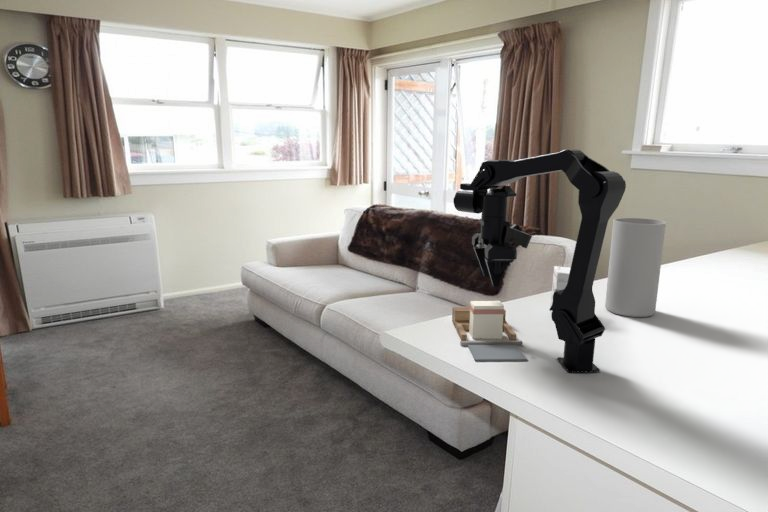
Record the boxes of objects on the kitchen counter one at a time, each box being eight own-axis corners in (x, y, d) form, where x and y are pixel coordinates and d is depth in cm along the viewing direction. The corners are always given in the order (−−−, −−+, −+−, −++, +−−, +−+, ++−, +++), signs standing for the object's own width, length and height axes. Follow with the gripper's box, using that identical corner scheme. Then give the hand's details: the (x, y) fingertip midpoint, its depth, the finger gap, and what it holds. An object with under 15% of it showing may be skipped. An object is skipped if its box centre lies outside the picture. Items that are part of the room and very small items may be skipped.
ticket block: (502, 338, 120) (504, 306, 118) (472, 338, 119) (473, 306, 118) (498, 332, 124) (499, 300, 122) (468, 332, 123) (470, 300, 122)
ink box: (573, 316, 135) (576, 273, 133) (553, 315, 136) (556, 272, 134) (568, 307, 143) (571, 266, 141) (550, 306, 144) (553, 265, 142)
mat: (527, 360, 107) (527, 358, 107) (475, 361, 107) (475, 359, 107) (516, 346, 115) (516, 344, 115) (468, 346, 115) (468, 344, 114)
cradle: (522, 345, 115) (523, 328, 115) (461, 345, 115) (461, 329, 114) (503, 321, 132) (504, 306, 131) (449, 321, 131) (450, 306, 130)
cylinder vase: (653, 307, 143) (664, 219, 138) (656, 320, 132) (667, 225, 127) (605, 302, 148) (613, 216, 143) (604, 314, 137) (613, 222, 132)
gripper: (542, 221, 107) (537, 292, 111) (517, 210, 126) (514, 272, 129) (490, 221, 107) (487, 292, 110) (472, 210, 125) (470, 272, 129)
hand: (491, 281), depth 119 cm, fingers open, 9 cm apart
